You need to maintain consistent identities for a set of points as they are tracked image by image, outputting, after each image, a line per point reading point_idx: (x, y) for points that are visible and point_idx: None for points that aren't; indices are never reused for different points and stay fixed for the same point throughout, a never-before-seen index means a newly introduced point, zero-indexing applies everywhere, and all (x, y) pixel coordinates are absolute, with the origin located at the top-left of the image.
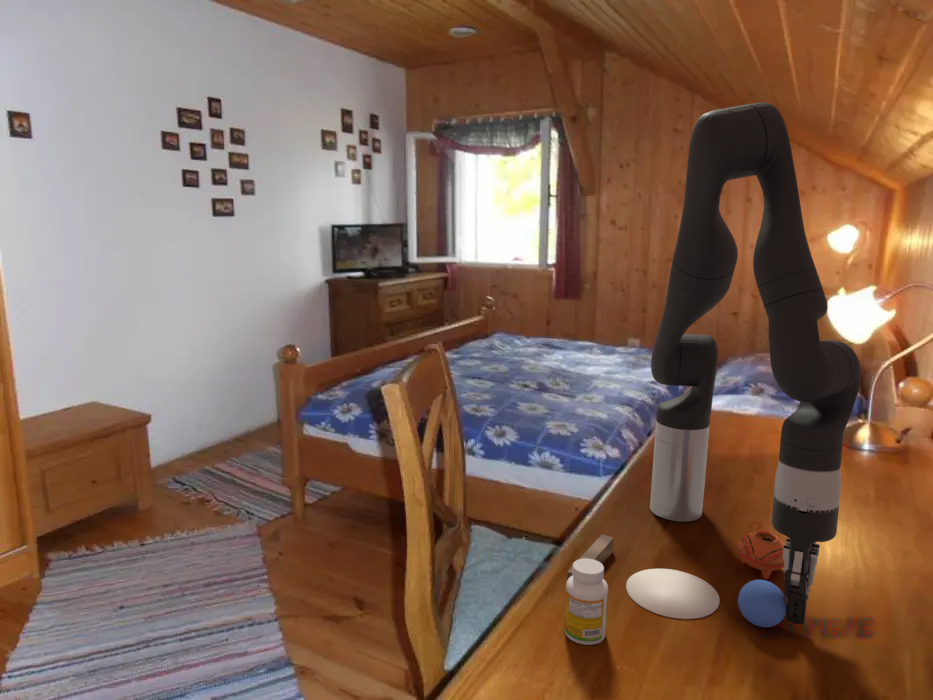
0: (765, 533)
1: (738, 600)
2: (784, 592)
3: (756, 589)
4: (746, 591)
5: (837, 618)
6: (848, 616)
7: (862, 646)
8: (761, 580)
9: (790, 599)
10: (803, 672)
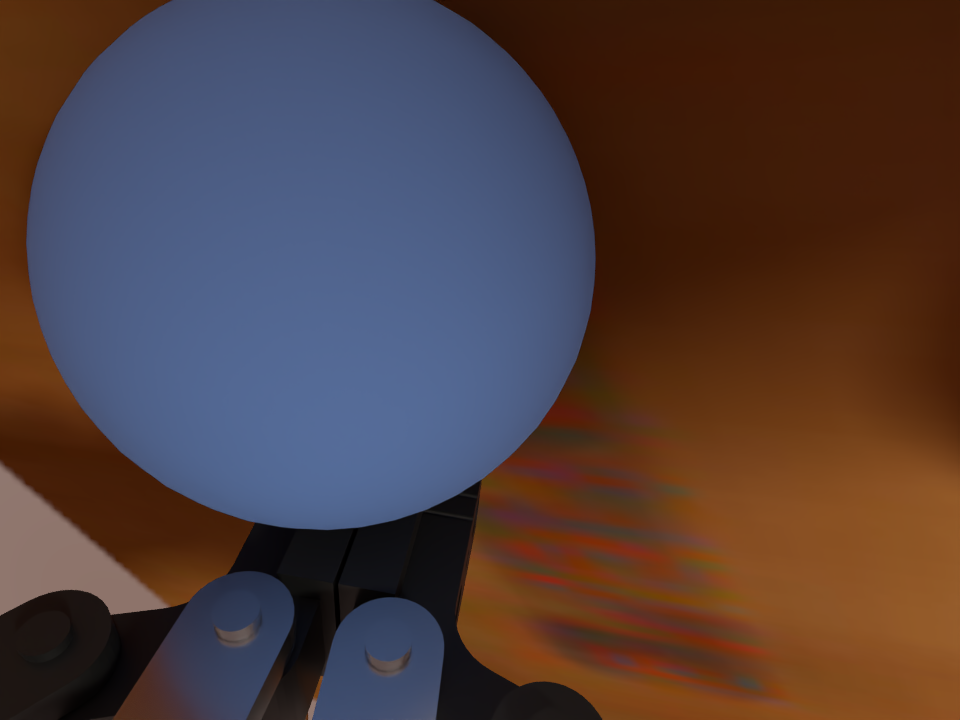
0: None
1: None
2: (15, 631)
3: (69, 313)
4: (73, 146)
5: (701, 587)
6: (744, 629)
7: (461, 617)
8: (292, 411)
9: (230, 571)
10: (37, 380)
